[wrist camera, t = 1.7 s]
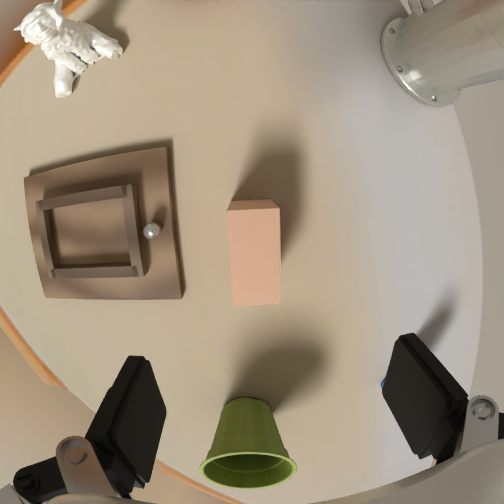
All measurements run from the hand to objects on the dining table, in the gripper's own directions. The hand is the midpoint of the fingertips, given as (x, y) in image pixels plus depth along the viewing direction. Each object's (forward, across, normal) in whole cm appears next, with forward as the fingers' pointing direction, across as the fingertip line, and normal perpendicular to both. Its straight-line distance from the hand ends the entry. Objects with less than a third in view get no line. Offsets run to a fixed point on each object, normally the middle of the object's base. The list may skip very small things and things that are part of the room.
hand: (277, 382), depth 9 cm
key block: (+20, 0, 0) cm, 21 cm away
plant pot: (+21, +2, +26) cm, 33 cm away
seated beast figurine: (+21, +19, -24) cm, 37 cm away
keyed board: (+20, +18, -2) cm, 27 cm away
